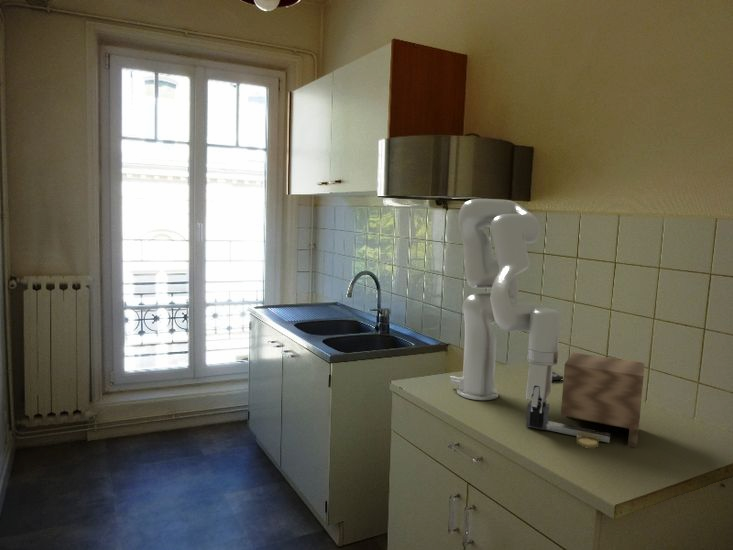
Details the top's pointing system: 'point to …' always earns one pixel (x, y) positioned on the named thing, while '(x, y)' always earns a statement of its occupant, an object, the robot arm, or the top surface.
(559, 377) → the toy car
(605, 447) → the top surface
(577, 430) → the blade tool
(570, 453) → the top surface
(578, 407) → the cabinet
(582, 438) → the token
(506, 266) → the robot arm
